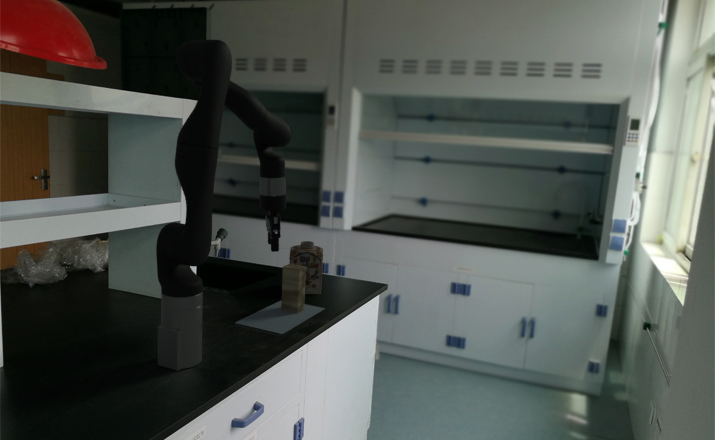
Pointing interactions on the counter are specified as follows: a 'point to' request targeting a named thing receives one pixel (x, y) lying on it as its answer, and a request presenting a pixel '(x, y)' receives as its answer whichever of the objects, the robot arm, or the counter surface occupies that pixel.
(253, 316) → the mat
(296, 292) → the maple block
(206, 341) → the counter surface
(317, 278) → the decorative jar
